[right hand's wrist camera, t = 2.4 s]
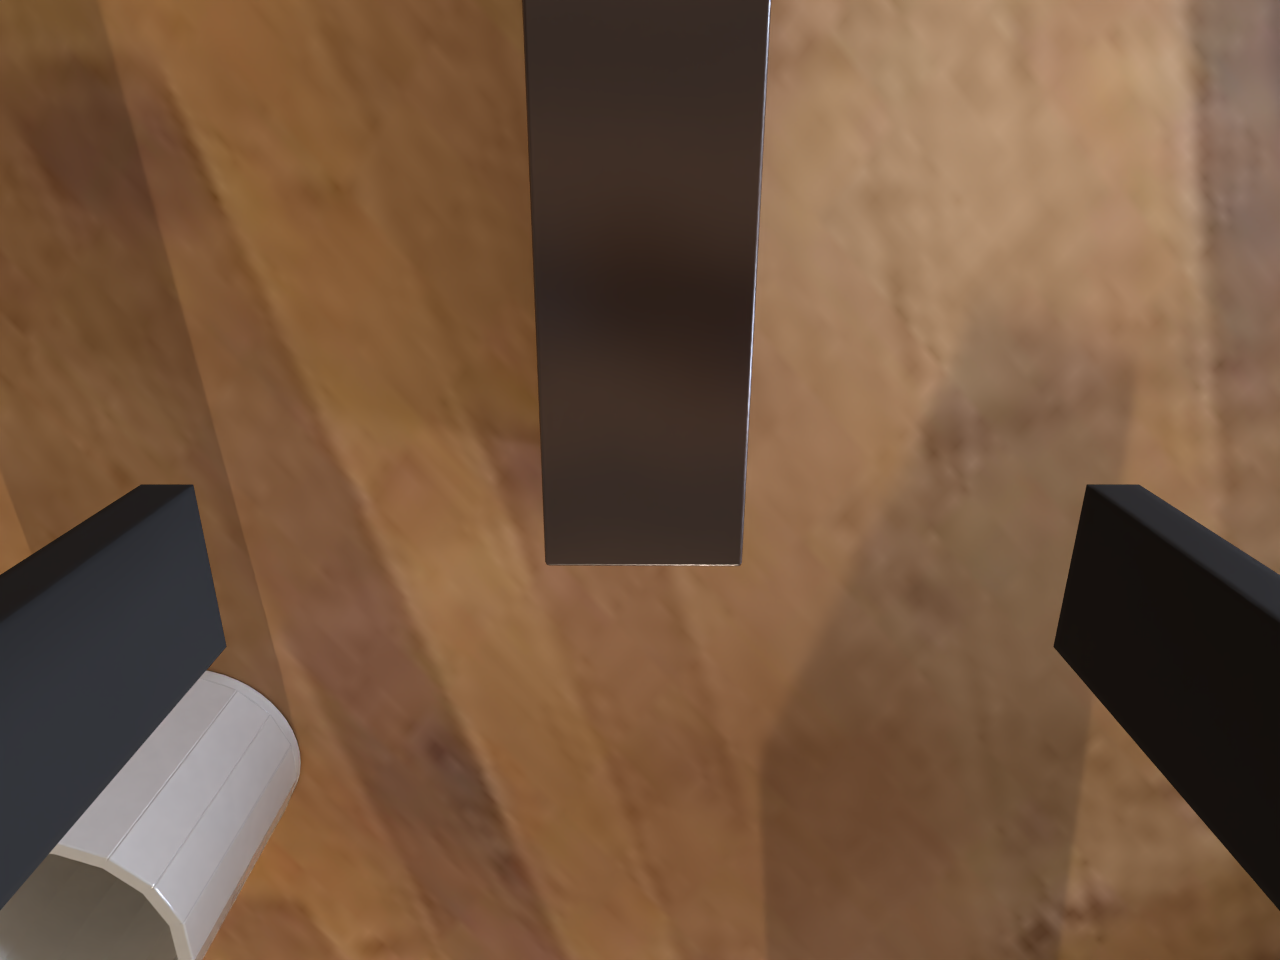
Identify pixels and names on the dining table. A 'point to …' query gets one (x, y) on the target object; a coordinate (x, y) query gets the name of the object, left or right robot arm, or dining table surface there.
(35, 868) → the right robot arm
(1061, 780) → the dining table surface
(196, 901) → the ceramic cup
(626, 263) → the walnut box
